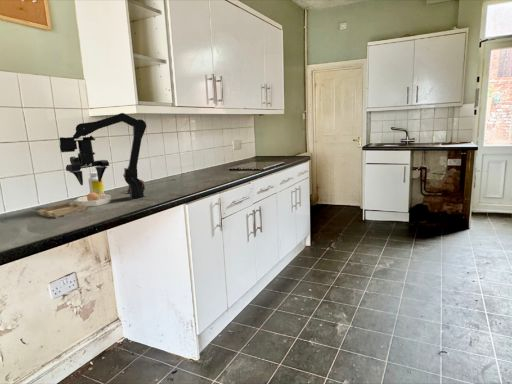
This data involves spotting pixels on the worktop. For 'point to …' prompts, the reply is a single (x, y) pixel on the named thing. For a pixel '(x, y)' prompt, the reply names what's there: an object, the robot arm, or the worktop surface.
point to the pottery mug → (142, 185)
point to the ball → (92, 196)
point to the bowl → (101, 200)
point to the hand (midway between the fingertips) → (90, 183)
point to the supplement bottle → (95, 184)
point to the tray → (61, 210)
